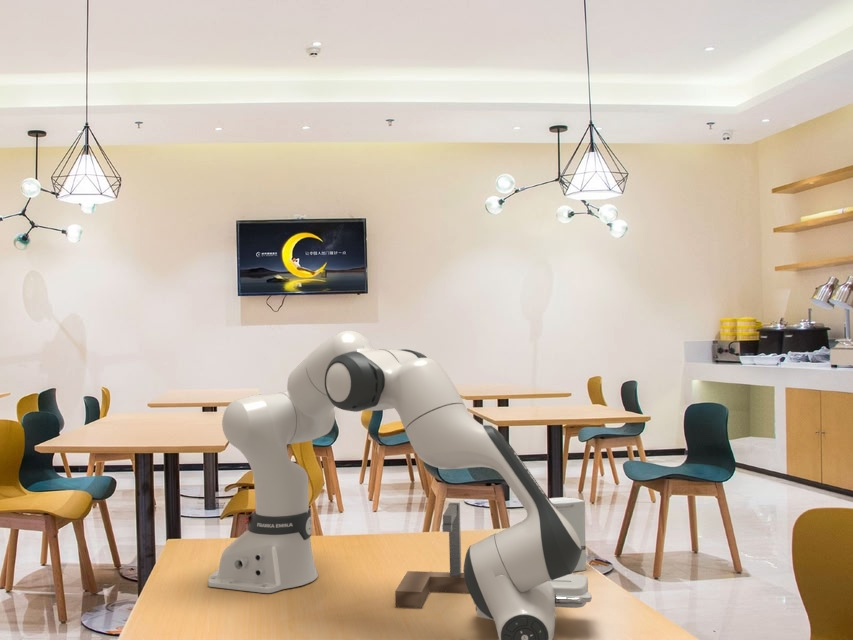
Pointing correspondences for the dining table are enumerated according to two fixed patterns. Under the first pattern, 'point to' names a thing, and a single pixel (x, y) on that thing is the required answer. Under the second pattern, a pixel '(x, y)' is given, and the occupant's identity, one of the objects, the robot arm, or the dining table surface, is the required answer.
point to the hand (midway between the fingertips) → (530, 573)
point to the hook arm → (453, 537)
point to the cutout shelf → (426, 587)
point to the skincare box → (574, 521)
